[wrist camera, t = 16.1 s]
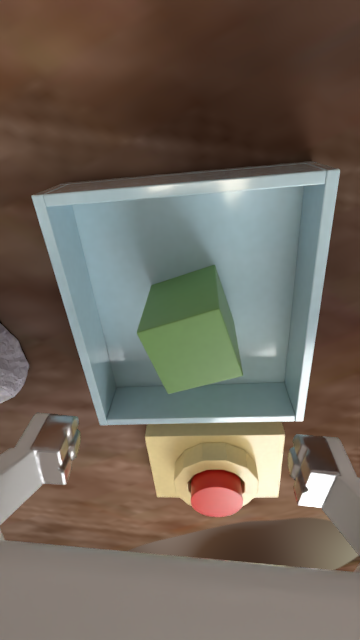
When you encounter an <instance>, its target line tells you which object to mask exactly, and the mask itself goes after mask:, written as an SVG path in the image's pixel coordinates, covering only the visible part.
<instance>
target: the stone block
mask: <svg viewBox="0 0 360 640" xmlns="http://www.w3.org/2000/svg"><path fill="white" fill-rule="evenodd" d="M28 369H29V364H28V362H27V360H26V358H25V356H24V354H23V352H22V350H21V347H20V344H19V341H18V340H17V339H16V338H15V337H14V336H13V335H12V334H11V333H9V331H8V330H7V329H6V328H5V327H4V326H3V325H1V323H0V403H3V402H4V401H6V400H8V399H10V398H12V397H14V396H16V394H17V393H18V392H19V391H20V390H21V388H22V386H23V385H24V384H25V379H26V376H27V371H28Z"/></svg>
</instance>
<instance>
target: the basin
mask: <svg viewBox="0 0 360 640" xmlns="http://www.w3.org/2000/svg"><path fill="white" fill-rule="evenodd" d="M339 175H340V169H337V168H334V167H330V166H327V165H323V164H320V163H316V162H313V161H308V162H296V163H285V164H274V165H262V166H251V167H240V168H229V169H217V170H206V171H195V172H183V173H172V174H161V175H150V176H138V177H127V178H116V179H104V180H93V181H82V182H71V183H62V184H60V185H57V186H55V187H52V188H50V189H47V190H45V191H42V192H39V193H37V194H34V195H32V196H31V197H32V200H33V203H34V207H35V210H36V213H37V217H38V220H39V223H40V227H41V230H42V233H43V237H44V240H45V243H46V247H47V250H48V253H49V257H50V260H51V263H52V267H53V270H54V273H55V277H56V280H57V283H58V287H59V290H60V293H61V297H62V300H63V303H64V307H65V310H66V314H67V317H68V320H69V324H70V327H71V330H72V334H73V337H74V340H75V344H76V347H77V350H78V354H79V357H80V360H81V364H82V367H83V370H84V374H85V377H86V380H87V384H88V387H89V390H90V394H91V397H92V400H93V404H94V407H95V410H96V414H97V417H98V420H99V424H100V425H128V424H181V423H234V422H288V421H303V420H304V413H305V406H306V399H307V393H308V386H309V379H310V372H311V365H312V359H313V352H314V345H315V338H316V331H317V325H318V318H319V311H320V304H321V297H322V291H323V284H324V277H325V270H326V263H327V257H328V250H329V243H330V236H331V229H332V223H333V216H334V209H335V202H336V195H337V189H338V182H339ZM211 265H215V266H216V269H217V272H218V275H219V278H220V281H221V284H222V287H223V290H224V293H225V296H226V299H227V302H228V305H229V308H230V311H231V314H232V317H233V320H234V325H235V331H236V336H237V342H238V348H239V354H240V359H241V365H242V371H243V376H241V377H237V378H232V379H228V380H224V381H220V382H216V383H212V384H208V385H204V386H200V387H196V388H191V389H187V390H183V391H179V392H175V393H171V394H168V393H167V391H166V389H165V387H164V386H163V384H162V382H161V380H160V378H159V376H158V374H157V372H156V370H155V368H154V366H153V364H152V362H151V360H150V358H149V356H148V354H147V352H146V351H145V349H144V347H143V345H142V343H141V341H140V339H139V337H138V335H137V329H138V326H139V323H140V320H141V317H142V313H143V310H144V307H145V304H146V301H147V297H148V294H149V291H150V288H151V285H153V284H156V283H160V282H163V281H166V280H169V279H172V278H175V277H178V276H181V275H184V274H187V273H190V272H193V271H196V270H199V269H202V268H205V267H208V266H211Z"/></svg>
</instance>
